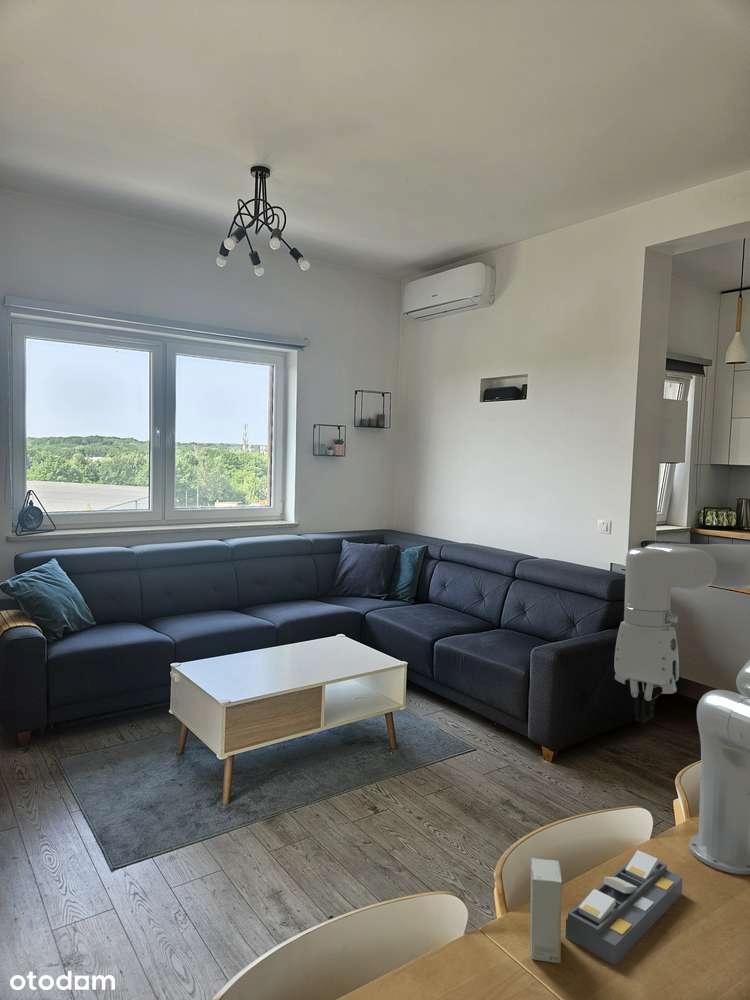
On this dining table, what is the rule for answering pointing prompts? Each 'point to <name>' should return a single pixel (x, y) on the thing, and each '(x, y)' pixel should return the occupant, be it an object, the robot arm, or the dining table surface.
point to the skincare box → (545, 910)
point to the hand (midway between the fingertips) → (643, 719)
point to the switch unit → (625, 914)
